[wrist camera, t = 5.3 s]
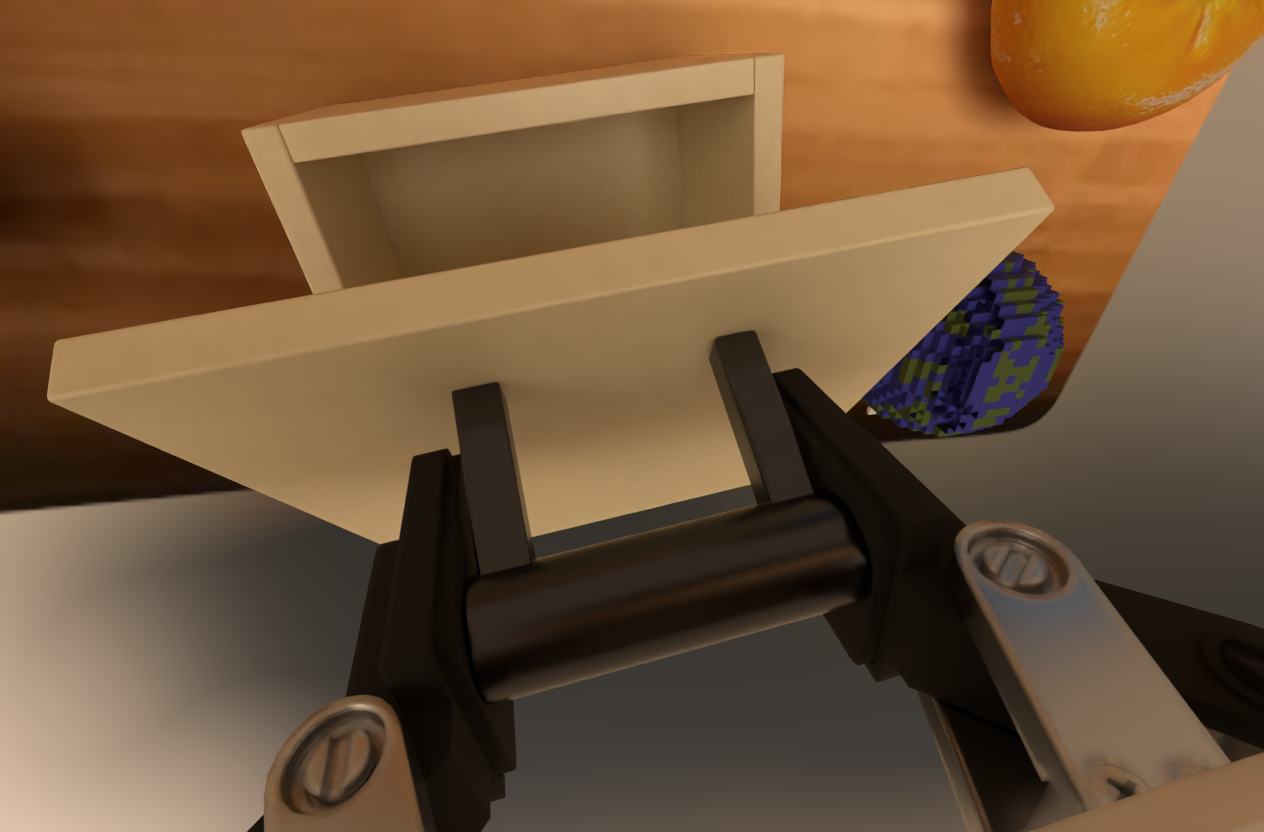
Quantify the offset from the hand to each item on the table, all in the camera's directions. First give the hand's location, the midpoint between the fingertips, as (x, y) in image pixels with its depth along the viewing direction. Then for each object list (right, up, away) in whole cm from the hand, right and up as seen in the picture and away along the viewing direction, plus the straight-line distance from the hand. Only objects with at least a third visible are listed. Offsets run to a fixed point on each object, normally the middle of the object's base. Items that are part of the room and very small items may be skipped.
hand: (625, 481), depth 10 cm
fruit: (+16, +17, +12) cm, 27 cm away
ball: (+13, +6, +18) cm, 23 cm away
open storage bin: (-3, +8, +13) cm, 15 cm away
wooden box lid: (-1, +1, +3) cm, 4 cm away
